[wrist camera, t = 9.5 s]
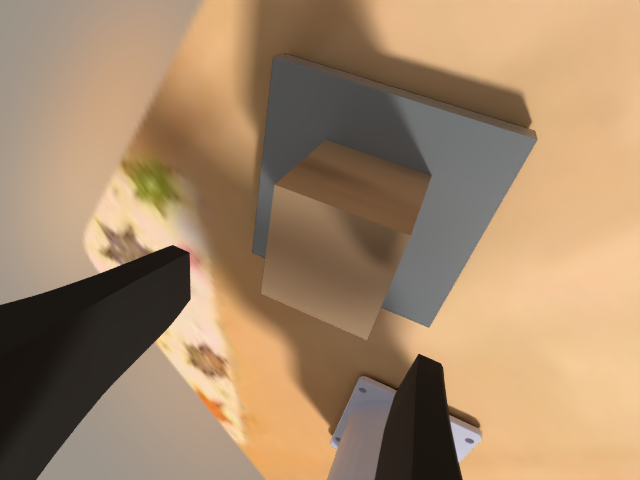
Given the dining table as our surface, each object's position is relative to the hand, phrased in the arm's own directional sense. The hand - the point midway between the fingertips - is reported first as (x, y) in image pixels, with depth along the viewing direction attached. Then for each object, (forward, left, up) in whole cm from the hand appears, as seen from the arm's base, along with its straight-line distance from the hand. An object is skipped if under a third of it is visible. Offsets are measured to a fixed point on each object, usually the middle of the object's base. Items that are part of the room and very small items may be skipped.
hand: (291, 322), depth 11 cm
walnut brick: (0, 0, -7) cm, 7 cm away
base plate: (0, 0, -8) cm, 8 cm away
